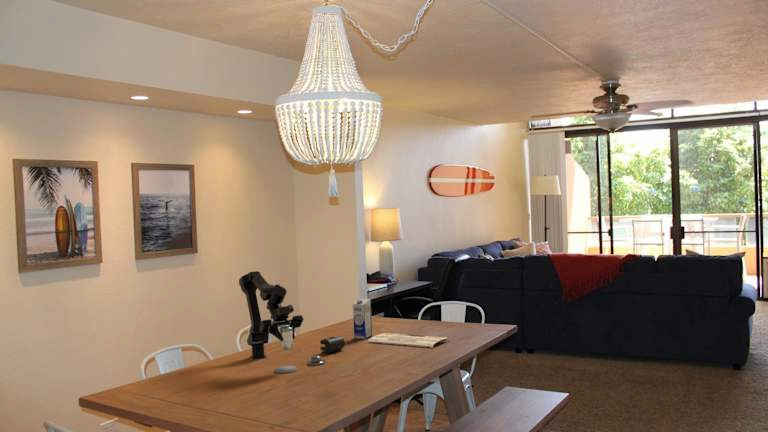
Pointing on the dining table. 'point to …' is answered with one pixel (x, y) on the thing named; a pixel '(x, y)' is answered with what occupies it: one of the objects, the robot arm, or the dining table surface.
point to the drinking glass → (286, 338)
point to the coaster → (285, 369)
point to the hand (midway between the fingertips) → (287, 339)
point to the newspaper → (407, 340)
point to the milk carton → (362, 319)
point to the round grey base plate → (316, 361)
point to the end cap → (332, 344)
